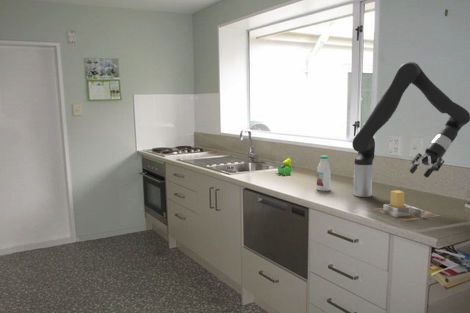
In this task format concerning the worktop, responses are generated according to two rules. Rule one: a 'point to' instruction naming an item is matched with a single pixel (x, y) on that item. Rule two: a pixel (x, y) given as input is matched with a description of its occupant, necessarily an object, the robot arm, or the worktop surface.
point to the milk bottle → (323, 174)
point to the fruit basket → (285, 167)
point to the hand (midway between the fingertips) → (417, 174)
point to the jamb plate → (405, 212)
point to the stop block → (397, 199)
